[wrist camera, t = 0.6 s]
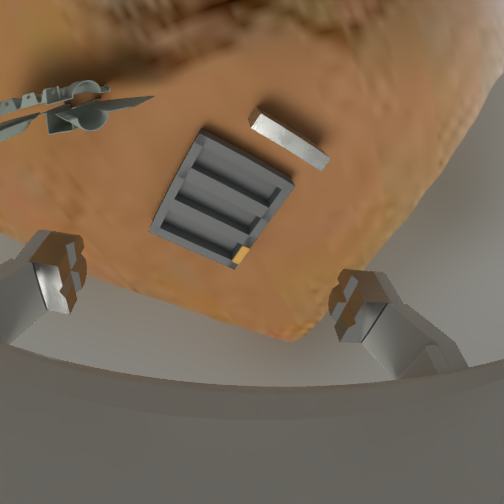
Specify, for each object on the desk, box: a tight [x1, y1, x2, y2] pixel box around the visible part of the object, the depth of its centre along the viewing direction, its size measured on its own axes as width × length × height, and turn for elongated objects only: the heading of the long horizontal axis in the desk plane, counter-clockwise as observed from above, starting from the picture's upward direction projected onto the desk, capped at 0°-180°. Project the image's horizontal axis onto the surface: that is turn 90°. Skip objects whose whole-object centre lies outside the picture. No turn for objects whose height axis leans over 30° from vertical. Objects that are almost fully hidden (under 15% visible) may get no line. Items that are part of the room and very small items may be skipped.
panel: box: [248, 107, 331, 171], centre depth 42 cm, size 2×12×7 cm, turn 58°
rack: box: [149, 128, 295, 269], centre depth 50 cm, size 19×17×4 cm
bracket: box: [0, 80, 154, 142], centre depth 30 cm, size 28×7×20 cm, turn 86°
